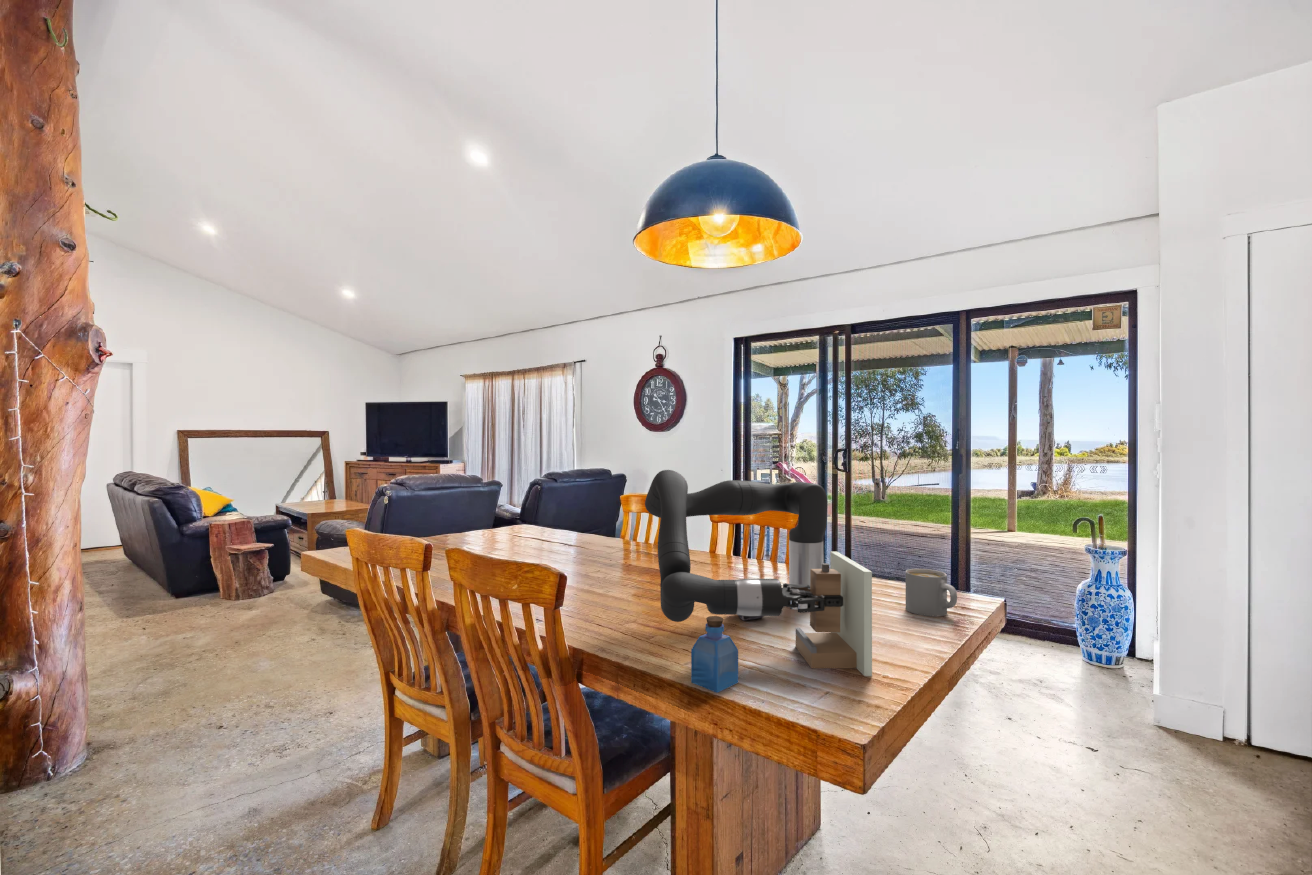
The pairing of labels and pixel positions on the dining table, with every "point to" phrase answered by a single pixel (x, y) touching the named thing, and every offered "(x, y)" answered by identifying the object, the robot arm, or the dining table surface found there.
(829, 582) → the knob board
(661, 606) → the robot arm
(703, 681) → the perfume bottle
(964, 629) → the dining table surface
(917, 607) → the coffee mug
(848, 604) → the cleat board
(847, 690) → the dining table surface
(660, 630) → the dining table surface
